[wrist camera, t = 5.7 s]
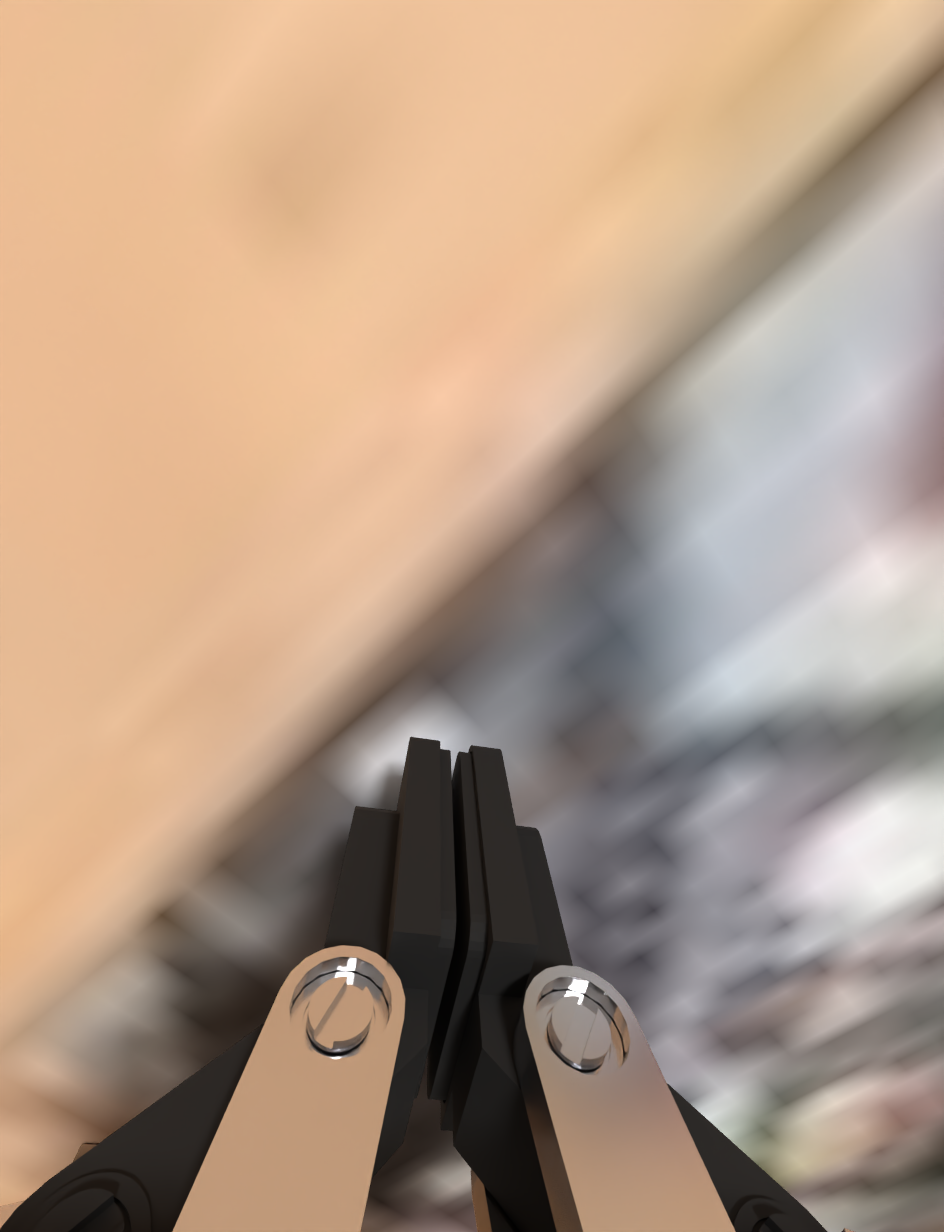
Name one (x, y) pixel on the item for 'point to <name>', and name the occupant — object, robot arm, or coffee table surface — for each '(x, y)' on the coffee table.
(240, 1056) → the robot arm
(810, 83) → the coffee table surface
